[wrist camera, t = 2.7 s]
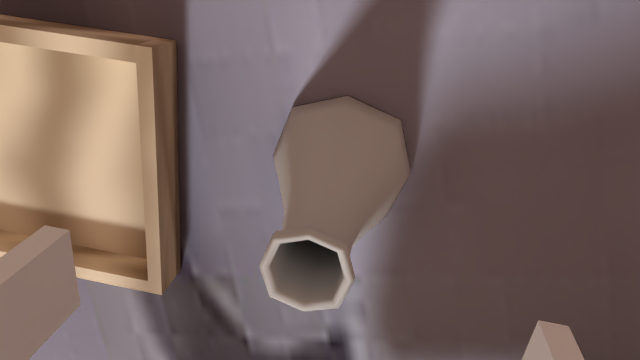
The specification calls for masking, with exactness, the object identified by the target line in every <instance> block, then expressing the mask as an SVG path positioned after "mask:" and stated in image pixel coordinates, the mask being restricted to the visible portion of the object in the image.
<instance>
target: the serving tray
mask: <svg viewBox="0 0 640 360" xmlns="http://www.w3.org/2000/svg"><path fill="white" fill-rule="evenodd" d="M45 225H46V226H51V227H56V228H61V229H67V230H70V237H71V244H72V250H73V257H74V264H75V271H76V277H77V278H81V279H86V280H91V281H96V282H101V283H106V284H111V285H116V286H120V287H125V288H130V289H135V290H140V291H145V292H150V293H154V294H159V295H162V294H163V293H164V291H165V290H166V289H167V287H168V286H169V285H170V283H171V282H172V281H173V279H174V278H175V277H176V275H177V274H178V273H179V271H180V270H181V265H180V209H179V154H178V98H177V42H176V40H170V39H163V38H157V37H150V36H143V35H136V34H130V33H123V32H116V31H109V30H103V29H96V28H89V27H82V26H76V25H69V24H62V23H55V22H49V21H42V20H35V19H28V18H22V17H15V16H8V15H1V14H0V257H2V256H3V255H5V254H6V253H7V252H9V251H10V250H11V249H13V248H14V247H16V246H17V245H18V244H20V243H21V242H22V241H24V240H25V239H27V238H28V237H29V236H31V235H32V234H33V233H35V232H36V231H38V230H39V229H40V228H42V227H43V226H45Z"/></svg>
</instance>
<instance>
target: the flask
mask: <svg viewBox="0 0 640 360" xmlns="http://www.w3.org/2000/svg"><path fill="white" fill-rule="evenodd" d="M273 158H274V163H275V167H276V171H277V175H278V179H279V183H280V189H281V195H282V201H283V207H284V219H283V228H282V230H281V231H276V232H275V233H274V234H273V236H272V238H271V240H270V242H269V245H268V247H267V249H266V252H265V254H264V256H263V258H262V261H261V263H260V266H259V267H260V270H261V273H262V275H263V278H264V281H265V284H266V287H267V290H268V293H269V296H270V297H272V298H274V299H276V300H279V301H281V302H283V303H285V304H288V305H290V306H292V307H294V308H297V309H299V310H301V311H314V310H324V309H334V308H339V307H340V305H341V303H342V301H343V300H344V298H345V296H346V294H347V293H348V291H349V289H350V287H351V286H352V284H353V282H354V279H355V275H354V270H353V267H352V263H351V259H350V253H351V248H352V246H353V245H354V244H355V243H356V242H357V241H358V240H359V239H360V238H361V237H362V236H364V235H365V234H366V233H367V232H368V231H369V230H370V229H372V228H373V227H374V226H375V225H377V224H378V223H379V222H381V221H382V220H383V219H384V218H385V217H386V216H387V214H388V212H389V210H390V209H391V207H392V205H393V203H394V202H395V200H396V198H397V196H398V194H399V193H400V191H401V189H402V187H403V186H404V184H405V182H406V180H407V179H408V177H409V175H410V173H411V172H410V167H409V162H408V156H407V151H406V146H405V140H404V135H403V130H402V124H401V120H399V119H397V118H395V117H393V116H391V115H389V114H386V113H384V112H382V111H380V110H378V109H375V108H373V107H371V106H369V105H367V104H364V103H362V102H360V101H358V100H356V99H354V98H351V97H349V96H344V97H339V98H334V99H330V100H325V101H320V102H315V103H311V104H306V105H301V106H296V107H292V109H291V112H290V114H289V117H288V119H287V122H286V124H285V127H284V129H283V132H282V134H281V137H280V139H279V142H278V144H277V147H276V149H275V152H274V154H273Z"/></svg>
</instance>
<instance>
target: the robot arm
mask: <svg viewBox="0 0 640 360" xmlns="http://www.w3.org/2000/svg"><path fill="white" fill-rule="evenodd" d="M80 305H81V304H80V298H79V291H78V284H77V277H76V271H75V264H74V257H73V250H72V244H71V237H70V230H67V229H61V228H56V227H51V226H46V225H45V226H43V227H42V228H40V229H39V230H38V231H36V232H35V233H33V234H32V235H31V236H29V237H28V238H27V239H25V240H24V241H22V242H21V243H20V244H18V245H17V246H16V247H14V248H13V249H11V250H10V251H9V252H7V253H6V254H5V255H3V256H2V257H0V360H28V359H29V358H30V357H31V356H32V355H33V354H34V353H35V352H36V351H37V350H38V349H39V348H40V347H41V346H42V345H43V344H44V342H45V341H46V340H47V339H48V338H49V337H50V336H51V335H52V334H53V333H54V332H55V331H56V330H57V329H58V328H59V327H60V326H61V325H62V323H63V322H64V321H65V320H66V319H67V318H68V317H69V316H70V315H71V314H72V313H73V312H74V311H75V310H76V309H77V308H78V307H79V306H80ZM522 360H584V358H583V355H582V353H581V351H580V349H579V347H578V345H577V343H576V341H575V338H574V336H573V334H572V332H571V330H570V328H569V326H566V325H561V324H556V323H550V322H545V321H540V320H538V322H537V324H536V327H535V329H534V332H533V334H532V336H531V339H530V341H529V343H528V346H527V348H526V351H525V353H524V355H523V358H522Z"/></svg>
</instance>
